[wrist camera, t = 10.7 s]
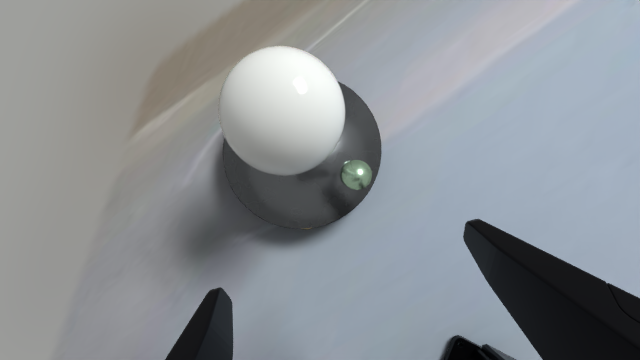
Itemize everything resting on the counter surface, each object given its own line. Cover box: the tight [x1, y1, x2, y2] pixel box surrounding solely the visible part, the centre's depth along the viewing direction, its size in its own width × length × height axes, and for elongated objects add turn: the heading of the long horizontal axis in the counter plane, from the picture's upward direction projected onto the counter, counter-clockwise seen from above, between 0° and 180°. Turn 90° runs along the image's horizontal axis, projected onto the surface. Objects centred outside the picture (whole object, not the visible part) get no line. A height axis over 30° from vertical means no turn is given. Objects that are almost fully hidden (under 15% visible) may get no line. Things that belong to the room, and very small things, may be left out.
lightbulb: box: [218, 46, 345, 176], centre depth 16 cm, size 6×6×11 cm
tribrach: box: [223, 82, 381, 229], centre depth 23 cm, size 13×13×3 cm
